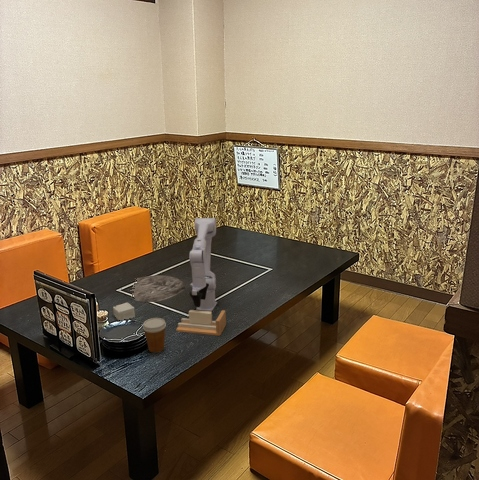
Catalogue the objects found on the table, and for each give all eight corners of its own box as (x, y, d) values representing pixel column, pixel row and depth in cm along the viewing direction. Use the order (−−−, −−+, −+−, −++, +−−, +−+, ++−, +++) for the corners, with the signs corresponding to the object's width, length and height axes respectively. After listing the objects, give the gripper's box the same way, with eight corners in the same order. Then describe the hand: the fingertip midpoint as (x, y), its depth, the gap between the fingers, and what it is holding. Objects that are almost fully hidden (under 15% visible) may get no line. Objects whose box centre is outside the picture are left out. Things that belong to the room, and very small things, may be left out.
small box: (135, 317, 221) (134, 307, 220) (119, 322, 217) (118, 312, 215) (129, 311, 227) (128, 301, 226) (113, 316, 223) (112, 306, 221)
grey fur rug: (151, 271, 276) (151, 270, 275) (197, 284, 256) (197, 283, 256) (106, 291, 250) (106, 290, 250) (153, 307, 231) (153, 306, 230)
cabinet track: (184, 320, 216) (183, 306, 214) (226, 324, 212) (225, 310, 209) (176, 331, 207) (175, 317, 205) (219, 335, 202) (219, 321, 200)
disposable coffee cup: (151, 341, 200) (148, 316, 196) (171, 344, 197) (169, 318, 193) (140, 353, 191) (137, 326, 187) (162, 356, 188) (159, 329, 185)
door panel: (191, 323, 211) (190, 309, 209) (212, 325, 209) (211, 311, 207) (189, 325, 209) (188, 311, 207) (211, 328, 207) (210, 313, 205)
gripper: (195, 268, 215) (197, 295, 220) (184, 281, 202) (186, 309, 207) (210, 269, 214) (211, 296, 218) (200, 282, 201) (201, 310, 205)
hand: (200, 302), depth 212 cm, fingers open, 7 cm apart
